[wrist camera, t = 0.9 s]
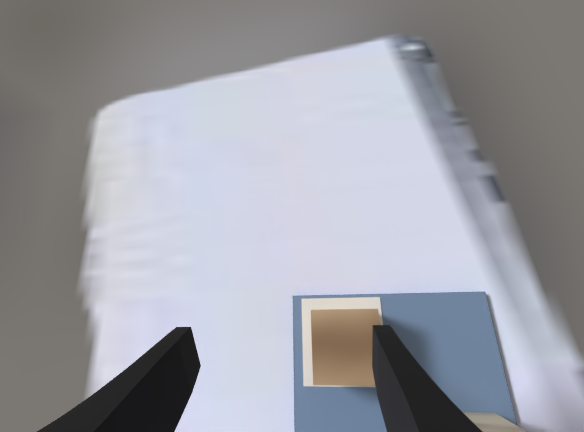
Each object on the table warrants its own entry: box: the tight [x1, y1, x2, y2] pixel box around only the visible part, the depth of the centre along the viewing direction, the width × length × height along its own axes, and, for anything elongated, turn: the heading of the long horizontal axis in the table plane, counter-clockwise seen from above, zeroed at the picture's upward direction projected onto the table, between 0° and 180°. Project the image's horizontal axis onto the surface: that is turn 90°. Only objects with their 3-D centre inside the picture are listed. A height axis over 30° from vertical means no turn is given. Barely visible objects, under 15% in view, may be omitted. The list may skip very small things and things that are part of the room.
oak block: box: [311, 309, 380, 386], centre depth 20 cm, size 4×4×4 cm
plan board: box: [293, 292, 517, 432], centre depth 21 cm, size 14×16×1 cm
